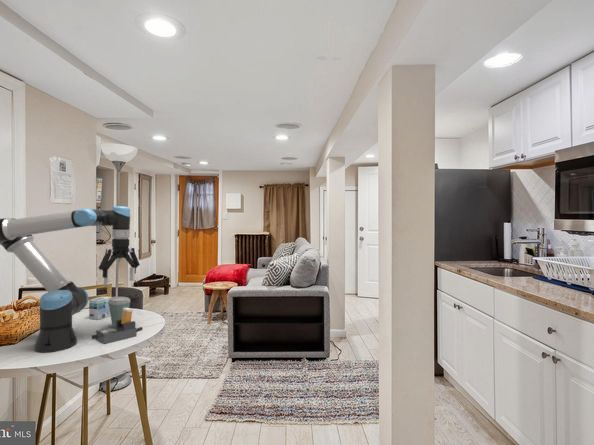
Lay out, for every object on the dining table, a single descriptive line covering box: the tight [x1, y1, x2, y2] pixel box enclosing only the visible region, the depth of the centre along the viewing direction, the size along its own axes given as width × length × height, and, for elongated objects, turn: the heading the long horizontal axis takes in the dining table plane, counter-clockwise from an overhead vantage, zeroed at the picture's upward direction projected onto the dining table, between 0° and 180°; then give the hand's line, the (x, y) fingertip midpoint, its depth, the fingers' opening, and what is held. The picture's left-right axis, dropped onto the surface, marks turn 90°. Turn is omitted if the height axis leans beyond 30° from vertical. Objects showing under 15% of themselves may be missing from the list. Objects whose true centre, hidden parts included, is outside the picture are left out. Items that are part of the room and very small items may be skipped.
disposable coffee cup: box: [108, 296, 131, 327], centre depth 184 cm, size 11×11×15 cm
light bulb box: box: [88, 296, 113, 321], centre depth 203 cm, size 11×7×11 cm, turn 164°
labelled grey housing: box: [95, 319, 138, 345], centre depth 166 cm, size 14×10×7 cm
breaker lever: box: [121, 307, 133, 326], centre depth 170 cm, size 2×6×8 cm, turn 48°
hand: (119, 282), depth 172 cm, fingers open, 13 cm apart
